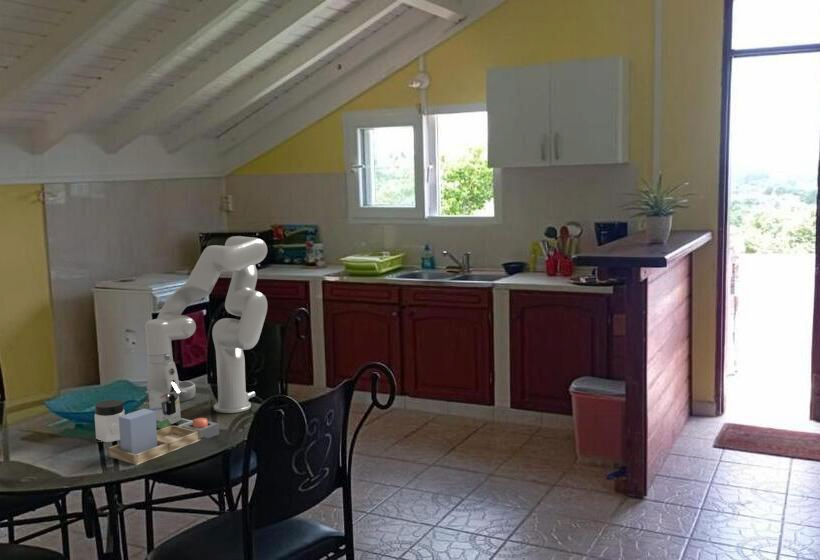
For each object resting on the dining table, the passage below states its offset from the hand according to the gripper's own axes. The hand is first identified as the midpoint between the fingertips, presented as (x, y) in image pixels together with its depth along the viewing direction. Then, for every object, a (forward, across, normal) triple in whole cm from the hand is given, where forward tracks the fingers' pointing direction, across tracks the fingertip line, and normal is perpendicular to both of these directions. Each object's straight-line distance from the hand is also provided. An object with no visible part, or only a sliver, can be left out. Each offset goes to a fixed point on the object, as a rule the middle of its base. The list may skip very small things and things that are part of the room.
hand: (165, 411), depth 268 cm
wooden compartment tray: (+5, -14, +16) cm, 22 cm away
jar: (+5, +5, +17) cm, 19 cm away
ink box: (+4, 0, 0) cm, 4 cm away
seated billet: (+4, -14, +22) cm, 26 cm away
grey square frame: (+6, -15, -1) cm, 16 cm away
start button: (+5, -15, -1) cm, 16 cm away
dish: (+7, +24, -26) cm, 36 cm away
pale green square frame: (+5, 0, +1) cm, 6 cm away
